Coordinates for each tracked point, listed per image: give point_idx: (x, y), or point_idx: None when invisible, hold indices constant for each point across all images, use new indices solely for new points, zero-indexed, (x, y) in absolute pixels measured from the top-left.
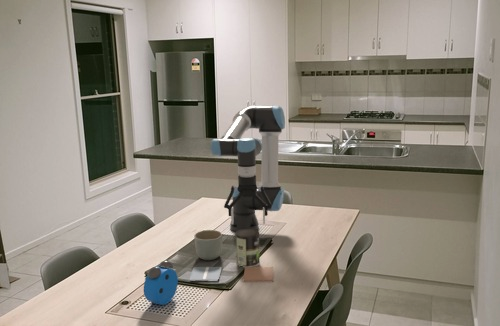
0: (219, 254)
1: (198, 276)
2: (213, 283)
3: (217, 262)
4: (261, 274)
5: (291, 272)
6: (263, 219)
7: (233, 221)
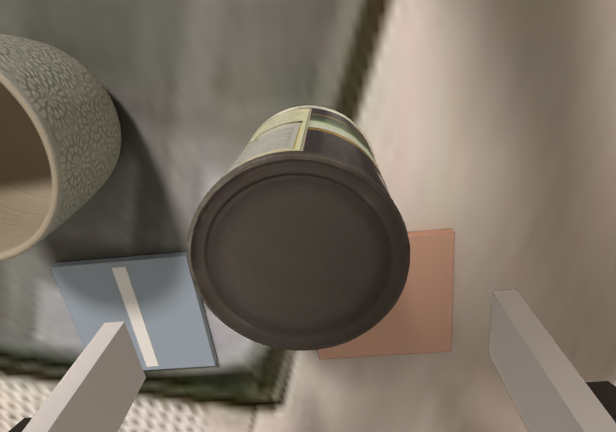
0: (120, 147)
1: None
2: (201, 372)
3: (138, 182)
4: (395, 311)
5: (544, 259)
6: (516, 397)
7: (124, 346)
